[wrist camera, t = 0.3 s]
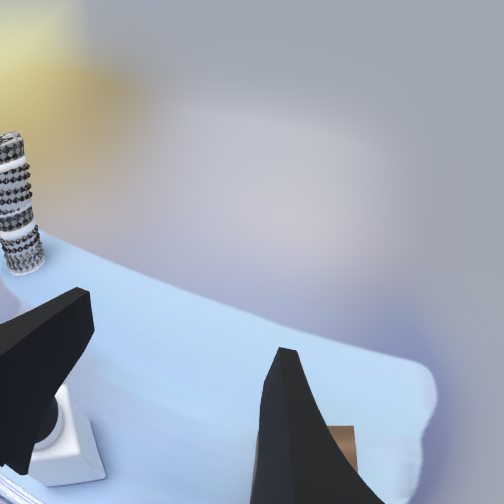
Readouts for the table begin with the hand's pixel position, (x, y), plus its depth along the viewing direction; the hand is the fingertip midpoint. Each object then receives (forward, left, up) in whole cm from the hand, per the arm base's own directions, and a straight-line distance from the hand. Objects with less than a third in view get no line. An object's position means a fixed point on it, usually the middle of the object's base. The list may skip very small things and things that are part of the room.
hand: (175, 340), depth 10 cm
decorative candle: (+26, +41, -21) cm, 53 cm away
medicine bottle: (-2, +13, -21) cm, 25 cm away
